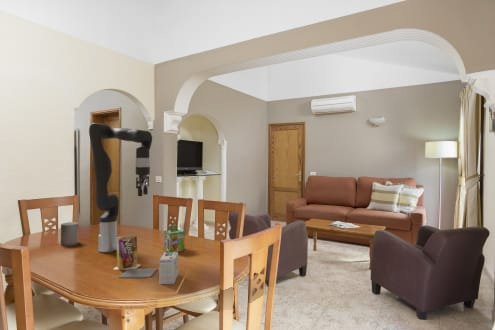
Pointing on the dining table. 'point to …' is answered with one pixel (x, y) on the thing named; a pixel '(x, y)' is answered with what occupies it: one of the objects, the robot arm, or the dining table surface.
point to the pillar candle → (69, 233)
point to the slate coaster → (138, 273)
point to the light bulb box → (168, 268)
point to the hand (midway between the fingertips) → (142, 195)
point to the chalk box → (174, 240)
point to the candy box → (126, 251)
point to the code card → (128, 268)
